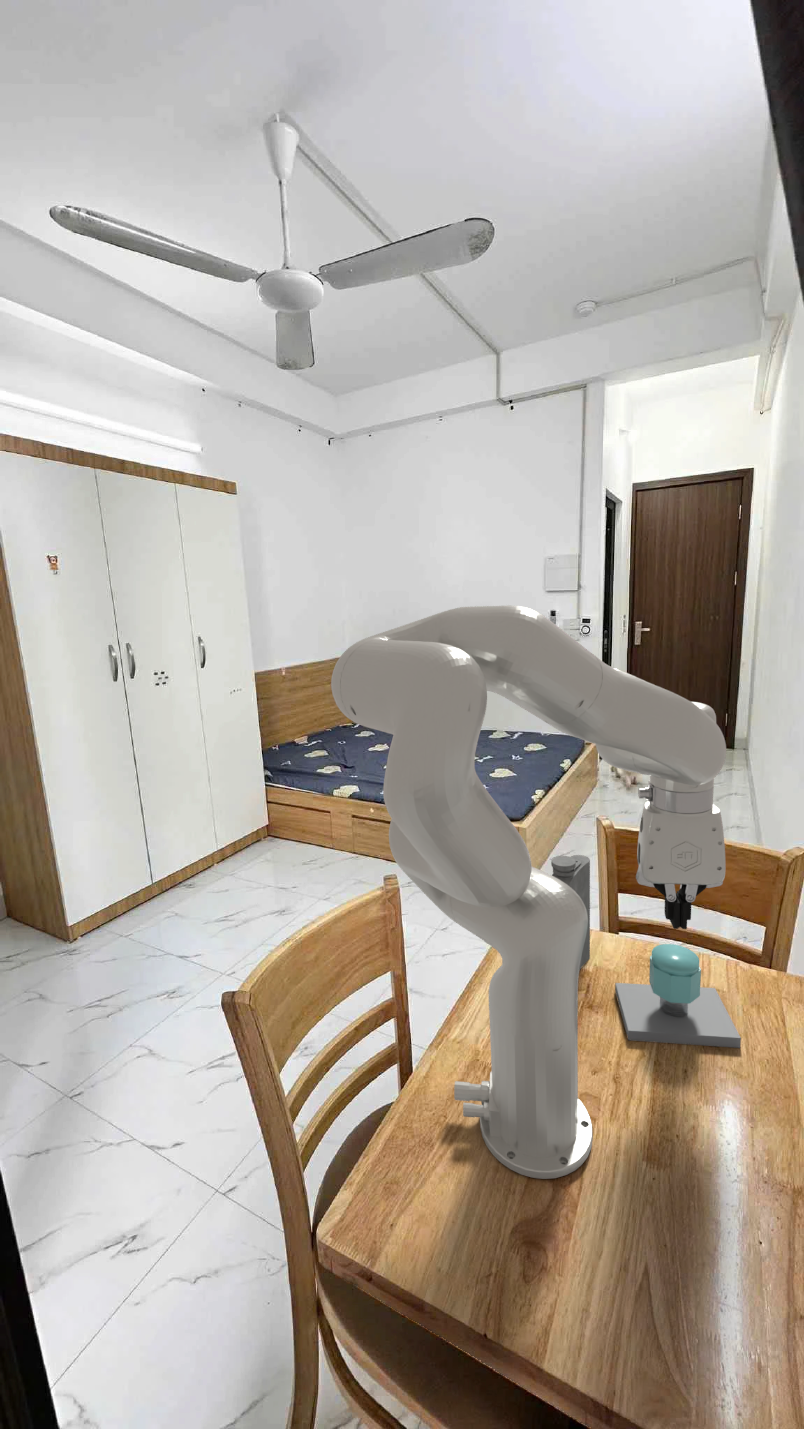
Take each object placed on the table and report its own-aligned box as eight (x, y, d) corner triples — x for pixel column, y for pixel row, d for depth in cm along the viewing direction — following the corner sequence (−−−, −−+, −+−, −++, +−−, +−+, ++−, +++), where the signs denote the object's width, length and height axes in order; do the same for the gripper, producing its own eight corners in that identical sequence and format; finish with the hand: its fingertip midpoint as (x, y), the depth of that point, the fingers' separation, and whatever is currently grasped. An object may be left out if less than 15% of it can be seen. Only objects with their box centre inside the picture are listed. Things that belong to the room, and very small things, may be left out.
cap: (656, 1001, 81) (657, 968, 80) (646, 973, 86) (647, 943, 85) (704, 1004, 79) (705, 971, 78) (690, 976, 85) (691, 944, 84)
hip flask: (563, 1011, 86) (562, 886, 82) (536, 1003, 89) (534, 880, 85) (592, 953, 100) (592, 842, 96) (568, 947, 102) (567, 838, 98)
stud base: (628, 1040, 80) (628, 1030, 80) (615, 991, 90) (615, 982, 90) (740, 1047, 78) (740, 1038, 77) (714, 997, 87) (715, 988, 87)
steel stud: (663, 1016, 82) (664, 970, 81) (656, 999, 86) (658, 954, 84) (691, 1018, 82) (692, 971, 80) (683, 1000, 85) (685, 955, 84)
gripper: (626, 807, 75) (625, 937, 79) (754, 806, 72) (747, 941, 76) (615, 787, 82) (615, 907, 86) (732, 786, 80) (726, 910, 83)
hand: (677, 923), depth 81 cm, fingers closed
